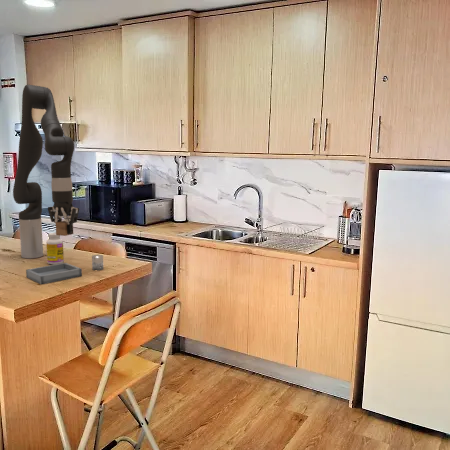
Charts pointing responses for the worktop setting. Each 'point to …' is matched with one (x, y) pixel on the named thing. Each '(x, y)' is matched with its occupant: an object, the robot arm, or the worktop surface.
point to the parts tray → (53, 273)
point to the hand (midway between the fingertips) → (64, 233)
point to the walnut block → (61, 228)
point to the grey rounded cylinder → (97, 262)
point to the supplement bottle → (54, 249)
